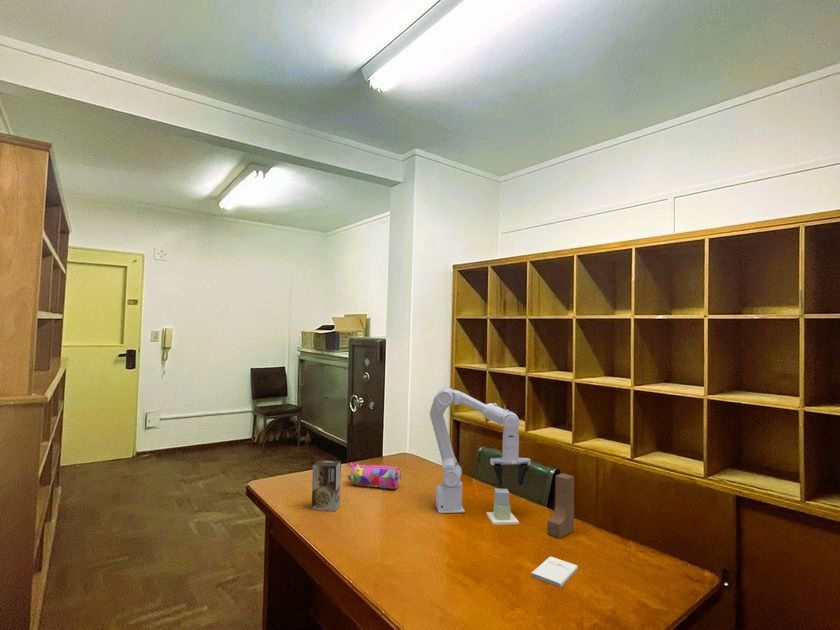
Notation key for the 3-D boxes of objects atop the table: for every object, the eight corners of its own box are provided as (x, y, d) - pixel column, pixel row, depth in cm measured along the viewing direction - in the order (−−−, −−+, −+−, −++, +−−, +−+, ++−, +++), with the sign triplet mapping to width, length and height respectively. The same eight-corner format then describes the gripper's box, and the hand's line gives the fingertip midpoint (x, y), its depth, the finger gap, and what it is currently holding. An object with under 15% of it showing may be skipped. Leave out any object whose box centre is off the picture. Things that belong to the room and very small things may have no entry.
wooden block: (559, 538, 142) (559, 481, 143) (546, 533, 146) (547, 477, 147) (574, 531, 148) (574, 476, 149) (562, 526, 151) (562, 472, 152)
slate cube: (496, 505, 155) (496, 492, 155) (494, 501, 159) (494, 488, 160) (509, 506, 155) (509, 492, 155) (507, 501, 159) (507, 488, 159)
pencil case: (345, 487, 186) (346, 465, 186) (353, 480, 195) (354, 459, 195) (396, 492, 181) (396, 470, 181) (402, 485, 190) (402, 463, 191)
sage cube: (497, 520, 154) (498, 507, 154) (493, 515, 158) (493, 502, 158) (510, 519, 154) (510, 506, 155) (505, 514, 159) (506, 501, 159)
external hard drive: (530, 578, 119) (549, 561, 129) (560, 590, 114) (578, 571, 124) (530, 572, 119) (549, 555, 129) (560, 583, 114) (578, 565, 124)
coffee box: (340, 505, 166) (341, 460, 167) (335, 511, 160) (337, 465, 161) (316, 503, 167) (318, 459, 168) (310, 510, 161) (312, 464, 161)
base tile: (493, 526, 152) (493, 522, 152) (486, 516, 161) (486, 512, 161) (518, 526, 153) (518, 521, 153) (510, 515, 162) (510, 511, 162)
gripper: (494, 449, 158) (493, 488, 157) (533, 449, 159) (533, 488, 159) (488, 444, 165) (488, 482, 164) (526, 444, 166) (526, 481, 166)
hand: (510, 484), depth 162 cm, fingers open, 7 cm apart
